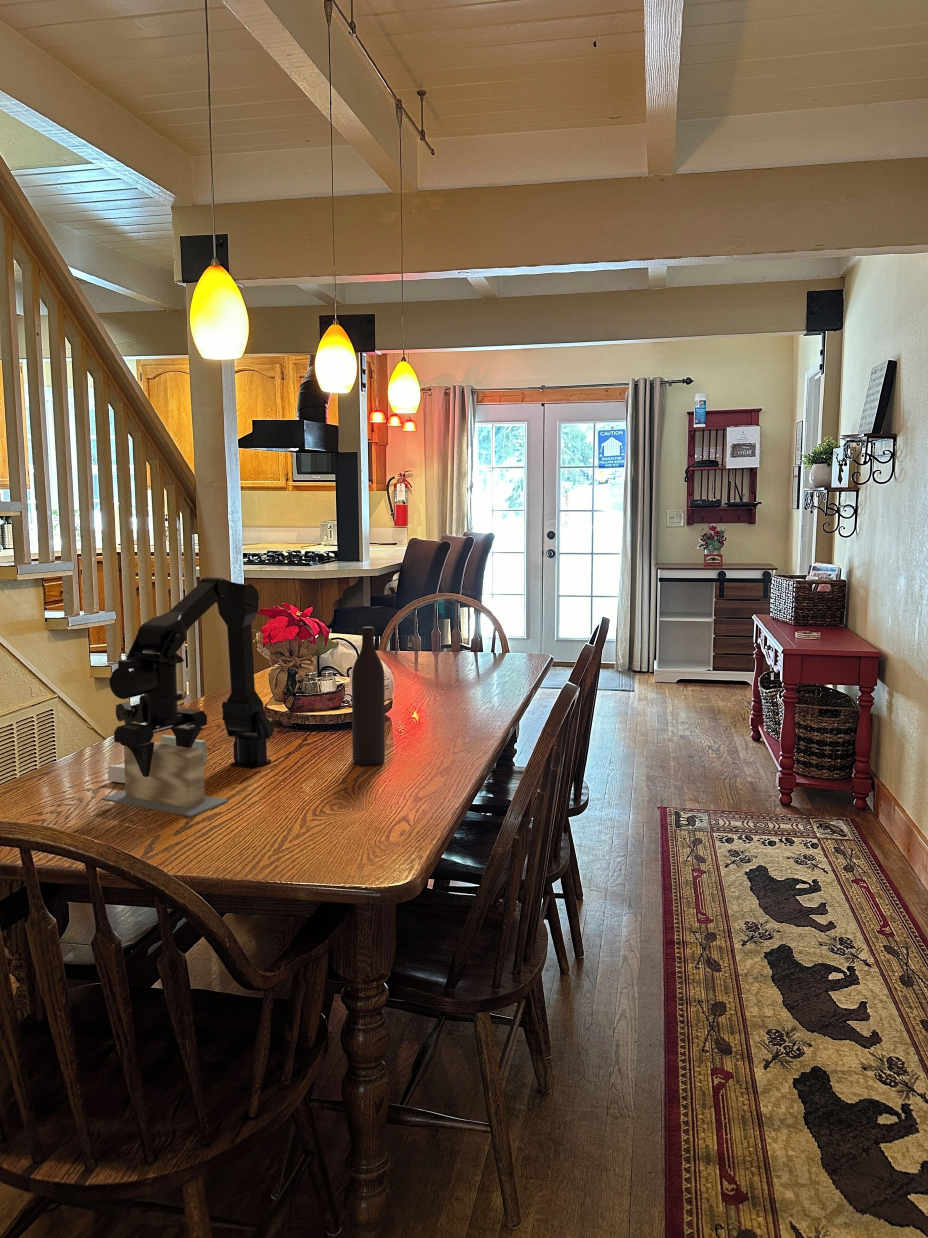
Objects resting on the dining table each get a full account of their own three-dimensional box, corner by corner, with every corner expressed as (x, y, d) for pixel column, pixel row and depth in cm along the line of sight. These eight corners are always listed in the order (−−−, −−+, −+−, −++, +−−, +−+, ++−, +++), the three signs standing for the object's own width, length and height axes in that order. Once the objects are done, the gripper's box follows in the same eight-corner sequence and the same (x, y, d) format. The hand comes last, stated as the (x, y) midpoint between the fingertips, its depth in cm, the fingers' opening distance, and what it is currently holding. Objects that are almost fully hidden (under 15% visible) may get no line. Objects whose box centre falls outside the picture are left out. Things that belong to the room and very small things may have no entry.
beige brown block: (204, 801, 174) (203, 749, 173) (189, 807, 171) (188, 754, 169) (141, 790, 181) (139, 740, 180) (125, 795, 178) (123, 744, 176)
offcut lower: (168, 785, 186) (170, 770, 186) (155, 787, 182) (156, 772, 183) (121, 778, 191) (122, 764, 191) (107, 780, 187) (108, 765, 187)
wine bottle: (389, 759, 206) (388, 626, 203) (378, 767, 200) (377, 629, 196) (359, 757, 208) (358, 624, 205) (347, 765, 201) (346, 628, 198)
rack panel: (207, 763, 202) (206, 740, 202) (203, 764, 201) (202, 742, 201) (165, 756, 207) (164, 734, 207) (161, 757, 206) (160, 736, 206)
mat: (228, 801, 176) (228, 799, 175) (191, 817, 167) (191, 815, 167) (141, 786, 185) (141, 784, 185) (102, 800, 176) (102, 798, 176)
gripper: (164, 678, 185) (166, 754, 187) (90, 694, 168) (93, 777, 170) (208, 682, 180) (209, 760, 182) (135, 699, 164) (138, 785, 165)
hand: (163, 770), depth 175 cm, fingers open, 9 cm apart
